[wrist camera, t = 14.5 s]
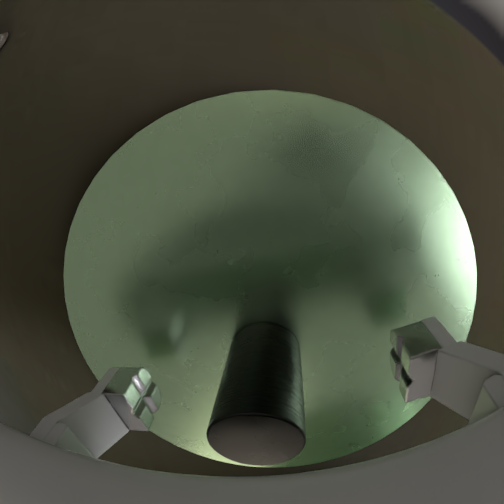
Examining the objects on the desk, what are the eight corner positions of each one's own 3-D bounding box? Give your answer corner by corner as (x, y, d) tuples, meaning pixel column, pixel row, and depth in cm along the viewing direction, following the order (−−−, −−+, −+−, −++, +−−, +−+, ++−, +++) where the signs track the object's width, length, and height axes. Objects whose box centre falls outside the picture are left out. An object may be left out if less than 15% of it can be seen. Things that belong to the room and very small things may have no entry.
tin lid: (435, 73, 7) (525, 32, 2) (440, 414, 11) (470, 481, 7) (36, 184, 10) (-54, 205, 5) (164, 452, 14) (140, 515, 9)
